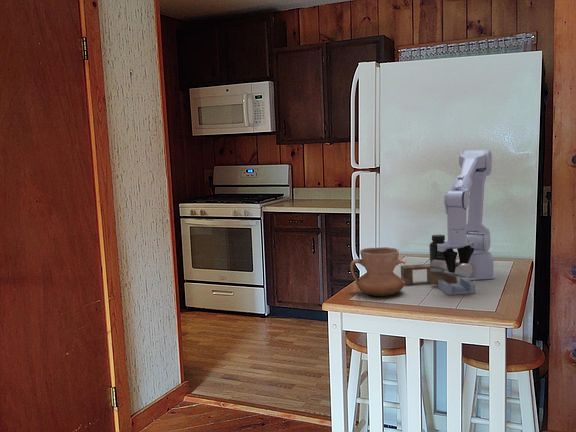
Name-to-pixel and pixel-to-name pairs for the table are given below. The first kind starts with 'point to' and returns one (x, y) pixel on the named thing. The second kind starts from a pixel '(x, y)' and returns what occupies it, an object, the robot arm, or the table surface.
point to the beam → (431, 277)
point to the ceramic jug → (379, 271)
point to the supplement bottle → (433, 247)
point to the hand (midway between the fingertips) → (457, 271)
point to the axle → (460, 269)
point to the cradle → (457, 287)
